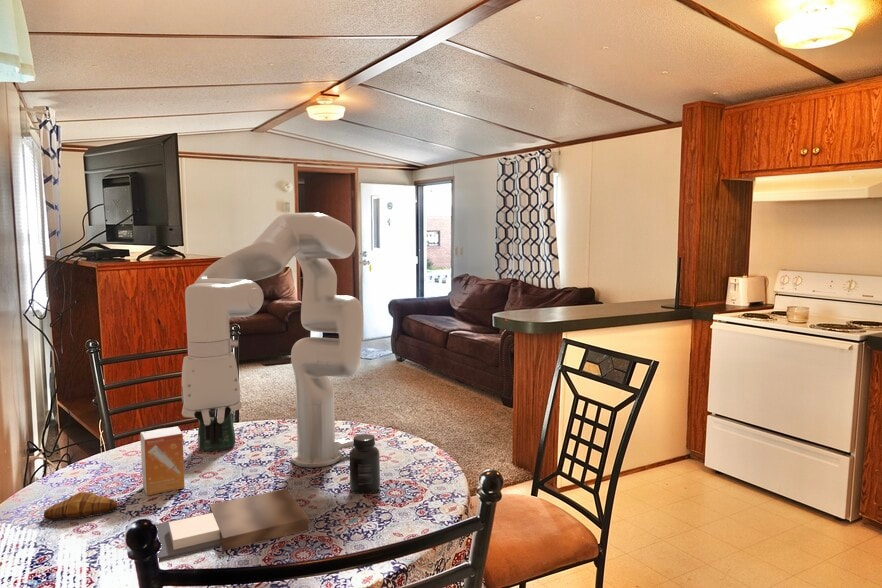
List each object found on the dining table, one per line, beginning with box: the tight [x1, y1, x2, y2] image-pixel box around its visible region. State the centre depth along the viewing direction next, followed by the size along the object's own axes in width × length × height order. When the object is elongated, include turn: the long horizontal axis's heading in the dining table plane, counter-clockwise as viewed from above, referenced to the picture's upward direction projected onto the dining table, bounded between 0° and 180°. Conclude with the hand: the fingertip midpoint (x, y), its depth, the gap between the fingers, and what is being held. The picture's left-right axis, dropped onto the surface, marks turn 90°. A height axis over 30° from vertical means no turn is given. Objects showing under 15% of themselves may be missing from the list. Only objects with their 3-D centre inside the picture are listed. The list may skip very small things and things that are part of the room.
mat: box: [155, 512, 222, 562], centre depth 116 cm, size 12×14×1 cm
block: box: [168, 512, 220, 550], centre depth 115 cm, size 8×8×2 cm
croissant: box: [43, 491, 119, 521], centre depth 125 cm, size 14×7×5 cm, turn 107°
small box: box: [139, 426, 185, 497], centre depth 138 cm, size 8×6×13 cm
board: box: [208, 488, 310, 552], centre depth 122 cm, size 16×16×2 cm
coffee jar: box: [197, 408, 236, 452], centre depth 164 cm, size 10×8×19 cm
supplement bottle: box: [348, 433, 381, 495], centre depth 138 cm, size 7×7×12 cm
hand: (213, 442), depth 116 cm, fingers closed
